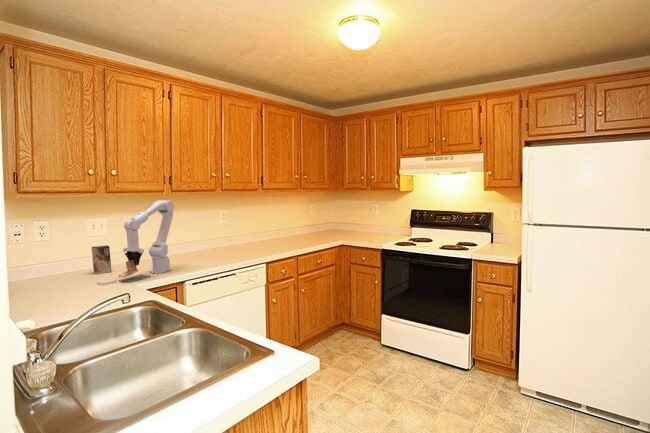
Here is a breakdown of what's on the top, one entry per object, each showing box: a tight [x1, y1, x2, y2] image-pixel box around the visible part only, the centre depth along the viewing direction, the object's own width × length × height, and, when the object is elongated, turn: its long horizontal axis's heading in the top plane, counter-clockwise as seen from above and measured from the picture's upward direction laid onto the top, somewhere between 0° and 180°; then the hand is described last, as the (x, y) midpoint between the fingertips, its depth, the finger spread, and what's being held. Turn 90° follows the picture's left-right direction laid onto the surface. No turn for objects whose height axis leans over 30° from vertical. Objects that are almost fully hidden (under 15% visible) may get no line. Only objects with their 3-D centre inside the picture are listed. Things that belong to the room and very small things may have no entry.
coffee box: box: [91, 244, 112, 275], centre depth 225 cm, size 9×6×16 cm
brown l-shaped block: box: [118, 260, 139, 279], centre depth 204 cm, size 9×4×7 cm, turn 154°
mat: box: [118, 274, 152, 283], centre depth 209 cm, size 14×9×1 cm, turn 155°
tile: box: [96, 278, 117, 286], centre depth 200 cm, size 2×6×7 cm
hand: (134, 264), depth 208 cm, fingers closed on brown l-shaped block, 3 cm apart
